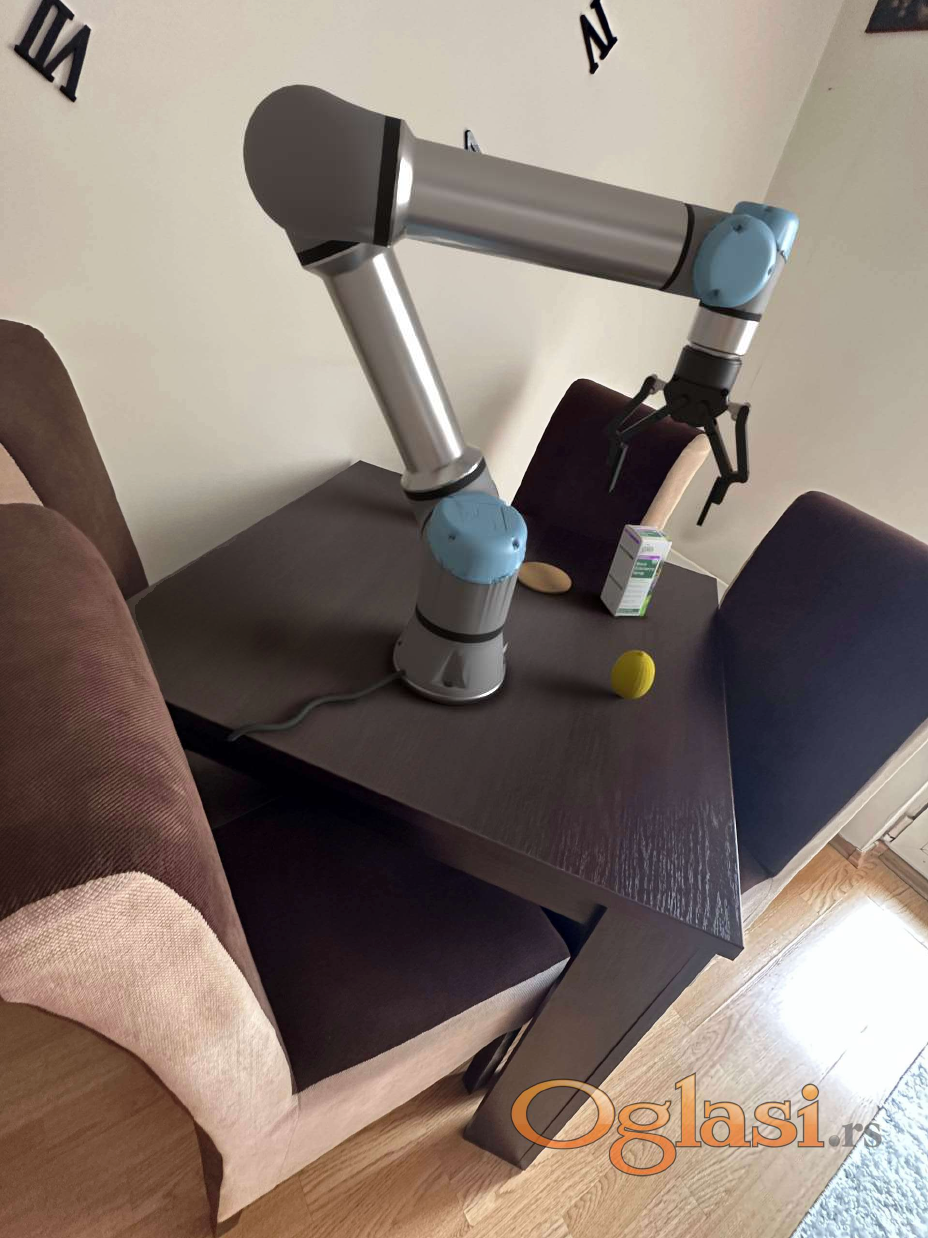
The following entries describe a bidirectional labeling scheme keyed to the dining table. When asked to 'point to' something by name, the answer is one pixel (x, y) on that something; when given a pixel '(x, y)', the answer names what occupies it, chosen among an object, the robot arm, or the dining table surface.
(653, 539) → the syrup box
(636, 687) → the lemon
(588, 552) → the dining table surface
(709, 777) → the dining table surface
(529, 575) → the coaster
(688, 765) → the dining table surface
